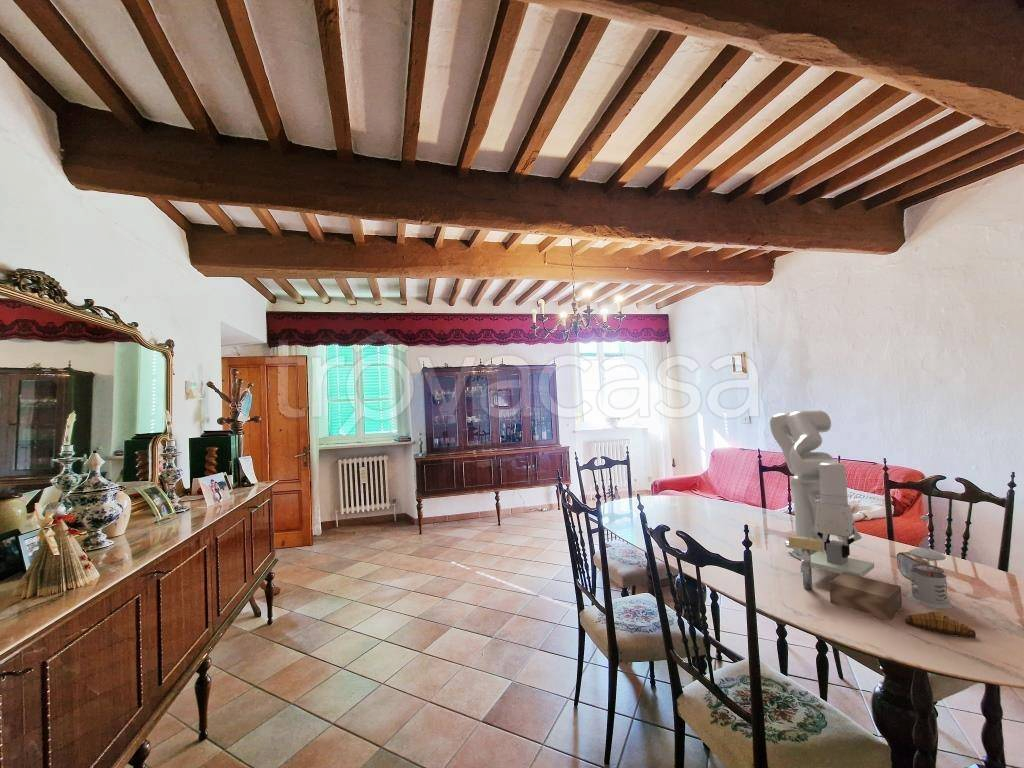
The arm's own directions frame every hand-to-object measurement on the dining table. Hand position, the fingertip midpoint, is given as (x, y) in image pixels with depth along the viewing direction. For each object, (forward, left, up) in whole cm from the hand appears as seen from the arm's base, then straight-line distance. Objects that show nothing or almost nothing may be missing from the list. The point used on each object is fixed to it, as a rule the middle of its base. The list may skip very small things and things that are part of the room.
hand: (837, 554), depth 148 cm
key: (-3, -17, -8) cm, 20 cm away
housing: (+11, -14, -9) cm, 20 cm away
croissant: (+27, -17, -9) cm, 33 cm away
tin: (+16, +18, -9) cm, 26 cm away
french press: (+22, +4, -9) cm, 24 cm away
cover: (0, 0, -4) cm, 4 cm away
